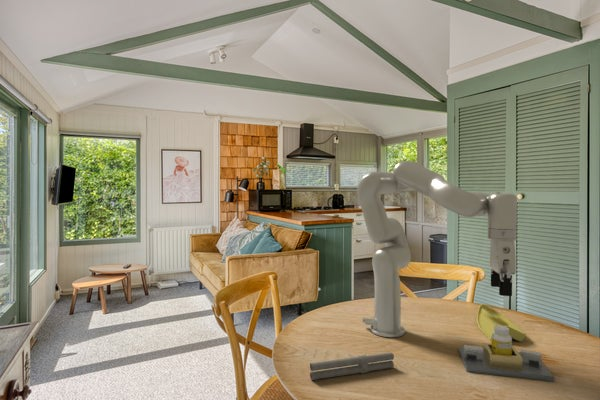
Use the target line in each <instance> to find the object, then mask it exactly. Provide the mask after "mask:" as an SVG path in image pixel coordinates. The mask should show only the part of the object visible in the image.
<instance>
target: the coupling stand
mask: <svg viewBox="0 0 600 400" xmlns="http://www.w3.org/2000/svg"><path fill="white" fill-rule="evenodd" d="M458 352H459V353H458V354H459V356H460V358H461V361H462V363H463V366H464V368H465V371H466V372H467V373H474V374H475V373H476V374H477V373H478V374H486V375H494V376H495V375H496V376H503V377H510V378H518V379H527V380H536V381H544V382H554V380H555V379H554V377H555V376H554V374H552V372H551V371H550V370H549V368H547V367H546V366H545V364H544V363H543V361H542V360H543V359H542V356H543V355H542V352H541V351H540V352H538V351H536V350H535V351H533V350H529V349H523V348H520V351H518V350H517V349H516V347H515V346H514V345H512V355H503V354H493V353H492V351H491V343H489V342H483V345H482V346H478V345H467V344H463V346H459V345H458Z"/></svg>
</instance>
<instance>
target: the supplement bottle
mask: <svg viewBox="0 0 600 400" xmlns="http://www.w3.org/2000/svg"><path fill="white" fill-rule="evenodd" d="M508 334H509V328H508V327H506V326H501V325H496V326H494V333H493V334H492V336H491V339H490V341H491V343H490V344H491V351H492V353H493V354H503V355H512V346H513V338H511V336H510V335H508Z"/></svg>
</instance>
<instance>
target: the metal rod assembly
mask: <svg viewBox="0 0 600 400" xmlns="http://www.w3.org/2000/svg"><path fill="white" fill-rule="evenodd" d="M394 358H395V355H394V353H393V352H385V353H377V354H371V355H370V354H369V355H366V354H362V355H358V356H353V357H346V358H339V359H332V360H325V361H324V360H323V361H318V362H317V361H316V362H310V364H309V366H310V367H309V368H310V372H309V377H310V380H311V381H314V380H320V379H321V380H322V379H327V378H335V377H341V376H342V377H343V376H347V375H353V374H355V375H356V374H360V373H362V374H366V373H367V374H368V373H369V372H372V371H373V372H374V371H379V370H386V369H392V368H394V367H395V363H394V361H393V360H394Z"/></svg>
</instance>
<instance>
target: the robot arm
mask: <svg viewBox="0 0 600 400" xmlns="http://www.w3.org/2000/svg"><path fill="white" fill-rule="evenodd" d="M406 189H407V190H408V189H412V190H414V191H415V192H417V193H419V194H421V195H424V196H426V197H427V198H428V199H431V201H433V202H435V204H437V205H439V206H441V207H442V208H445V210H448V211H451V212H453V213H455V214H457V215H459V216H462V217H465V218H474V217H481V216H487V239H488V240H490V248H489V249H490V250H489V263H490V264H489V265H490V268H491V269H490V286H491V287H493V288H498V291H499V292H498V294H499V296H502V297H512V296H513V276H514V275H516V274H517V263H516V262H517V261H516V260H517V258H516V257H517V256H516V245H515V244H516V243H515V241H517V221H518V220H517V219H518V218H517V216H518V215H517V213H518V212H517V211H518V197H517V196H516V195H515V194H514V193H505V192H504V193H503V192H502V193H499V192H498V193H487V192H486V193H485V192H471V191H467V190H465V189H462V188H460V187H458V186H456V185H454V184H452V183H450V182H448V181H447V180H445V178H444V176H443V175H442V174H441V173H438V172H436V171H433V170H431V169H428V168H426V166H424V165H423V164H422V163H420V162H419V161H411V160H402V161H400V162H397V163H396V164H395V166H394V167H393V170H392V171H390V172H389V171H387V172H385V171H371V172H368V173H365V175H364V176H362V178H361V179H360V181H359V182H358V185H357V189H356V193H357V194H356V195H357V198H358V202H359V205H360V208H361V211H362V215H363V218H364V219H363V220H364V223H365V226H366V230H367V234H368V237H369V239H370V241H371V242H372V243H373V244H376V245H382V244H384V246H383V247H379V249H377V250H376V251H375V252H374V253H373V255H372V259H371V265H372V270H373V278H374V315H373V316H372V317H371V318H370V317H369V318H368V317H362V323H364V324H365V326H366V325H367V326H370V327H369V329H370V331H371V333H372V334H374V335H377V336H380V337H384V338H399V337H402V336H403V335H405V333H406V329H405V327H404V326H402V323H401V317H402V316H401V315H402V311H401V310H402V309H401V307H402V306H401V305H402V304H401V303H402V300H401V297H402V295H401V293H402V291H401V290H402V289H401V285H402V284H401V279H400V276H399V275H400V274H399V270H402V269H405V268H407V266H409V264H410V263H411V259H412V254H411V251H410V247H409V244H408V243H409V242H408V240H407V236H406V233H405V229H404V227H403V225H402V223H401V222H400V221H399V220H398V219H396V218H393V217H389V216H388V214H387V212H386V207H385V205H384V203H383V201H382V200H381V198H380V195H391V194H396V193H398V192H401V191H404V190H406Z"/></svg>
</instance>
